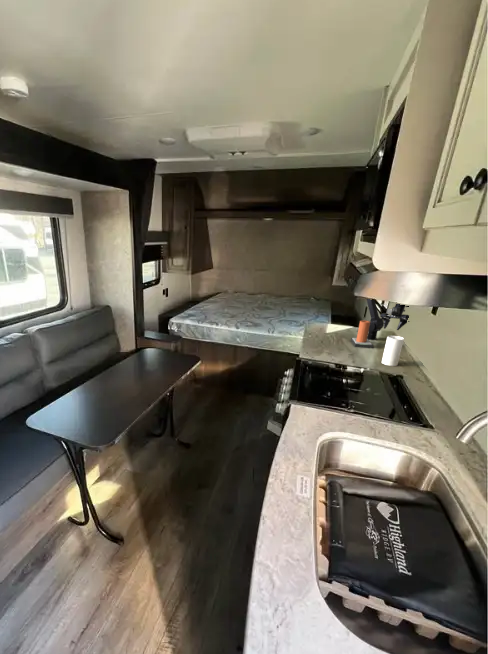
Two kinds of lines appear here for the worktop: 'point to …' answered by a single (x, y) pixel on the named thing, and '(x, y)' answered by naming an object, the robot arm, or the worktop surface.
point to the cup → (392, 350)
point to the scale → (360, 344)
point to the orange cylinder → (363, 331)
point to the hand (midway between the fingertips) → (390, 329)
